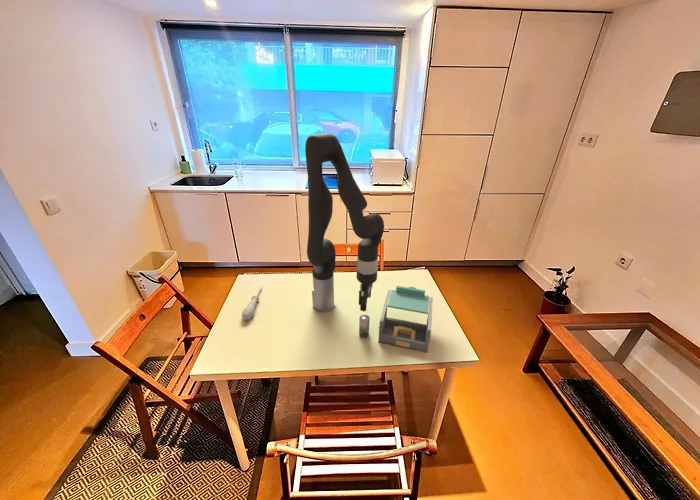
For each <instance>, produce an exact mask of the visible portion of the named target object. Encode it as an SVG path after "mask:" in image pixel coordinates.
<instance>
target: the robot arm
mask: <svg viewBox="0 0 700 500" xmlns="http://www.w3.org/2000/svg"><path fill="white" fill-rule="evenodd" d="M304 148H305V151H304V153H305V163H306V170H307V171H306V172H307V173H306V174H307V184H308V185H307V187H308V189H307V192H308V199H307V202H308V203H307V204H308V205H307V206H308V210H307V212H308V235H307V236H308V237H307V244H306V255H307V256H306V257H307V260H308V261H309V263H310V264H311V265H312V266H313V268H312V270H311V271H312V273H311V274H312V285H313V286H312V287H313V289H312V290H311V298H312V308H314V309H315V310H316V311H318V312H321V313H323V312H329V311H331V310H333V309H334V308H335V282H334V281H335V280H334V276H335V275H334V273H335V269H336V257H337V256H336V253H337V252H336V248H335V245H334V244H333V242H332V241H331V240H329V239H328V238H325V234H326V232H327V229H328V227H329V225H330V222H331V220H332V216H333V209H334V207H333V204H334V203H333V202H334V199H333V194H332V193H331V191H330V190H331V189H329V187H328V186H327V184H326V182H325V180H324V176H323V164H324V163H329V162H330V163H331V165H332V166H333V167H334V170H335V171H336V175H337V192H338V196H339V197H340V200H341V201H342V203H343V205H344V206H345V209H346V210H347V212H348V216H349V220H350V222H351V223H350V224H351V226H352V227H351V228H352V230H353V232H354V234H355V235H356V236H357V237H358V238H359V239H361V241H360V242H359V243H358V245H357V258H356V259H357V260H356V280H357V281H358V282H359V283H360V285H359V291H358V306H359V307H360V308H359V310H360V311H361V312H367V304H368V299H369V298H371V297H372V289H373V285H374V283H376V281H377V280H378V267H379V261H378V257H379V246H380V244H381V241H382V239H383V234H384V231H385V223H384V219H383V217H382V215H380V214H379V213H375V212H374V213H370V214H367V215H365V216H364V211H365V209H366V208H367V207H368V201H367V199H366V197H365V196H364V194H363V193H362V191H361V189H360V187H359V186H358V184H357V182H356V180H355V177H354V176H353V173H352V171H351V169H350V165H349V163H348V161H347V157H346V155H345V153H344V150H343V147H342V145H341V143H340V141H339V139H338V137H337V136H335V134H333V133H318V134H317V133H316V134H312V135H309V136H308V137H307V138H306V141H305V147H304Z"/></svg>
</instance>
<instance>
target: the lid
mask: <svg viewBox="0 0 700 500" xmlns="http://www.w3.org/2000/svg"><path fill="white" fill-rule="evenodd" d="M429 300H430V296H429V295H426V290H425V289H418V288H416V289H413V288H409V287H407V286H400V285H396V287H395V289H391V293H390V297H389V300H388V305H387V308H390V309H391V308H392V309H397V310H402V311H409V312H413V313H419V314H425V315H428V313H429Z"/></svg>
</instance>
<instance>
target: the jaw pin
mask: <svg viewBox="0 0 700 500" xmlns="http://www.w3.org/2000/svg"><path fill="white" fill-rule="evenodd" d="M370 319H371V318H370V316H369V315H368V314H361V315H360V316H359V320H358V321H359V323H358V324H359V327H358V336H359V337H360V338H362V339H367V338H369V336H370Z"/></svg>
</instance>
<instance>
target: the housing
mask: <svg viewBox="0 0 700 500" xmlns="http://www.w3.org/2000/svg"><path fill="white" fill-rule="evenodd" d="M391 290H392V289H391ZM391 290H390V289H387V293H386V297H385V301H384V304H383V307H382V311H381V315H380V319H379V327H378V330H379V332H378V341H377V343H380V344H384V345H389V346H395V347H398V348H403V349H408V350H413V351H418V352H422V353H428V349H429V343H430V338H431V333H432V325H433V324H432V320H433V299H434V298H433V296H429V308H428V314H427V320H426V324H424V323H419V322H413V321H410V320H409V321H408V320H404V319H397V318H393V317H387V312H388V302H389V298H390V294H391Z"/></svg>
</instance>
